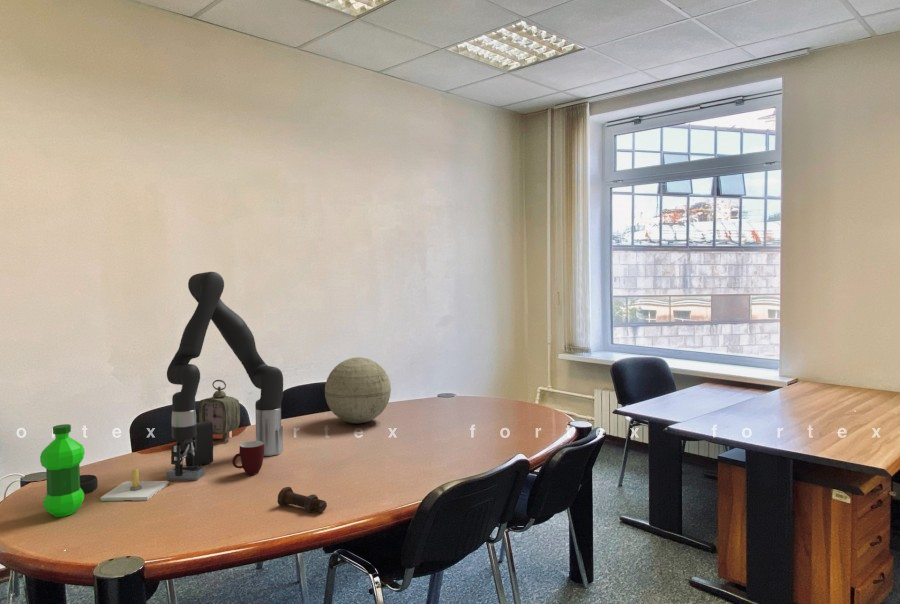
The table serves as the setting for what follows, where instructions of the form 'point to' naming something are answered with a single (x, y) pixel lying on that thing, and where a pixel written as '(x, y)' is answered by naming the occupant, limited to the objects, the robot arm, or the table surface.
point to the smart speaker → (88, 483)
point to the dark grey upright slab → (204, 443)
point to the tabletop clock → (220, 412)
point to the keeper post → (134, 489)
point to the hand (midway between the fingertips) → (184, 471)
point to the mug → (250, 456)
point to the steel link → (186, 473)
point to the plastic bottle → (62, 473)
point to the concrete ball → (357, 390)
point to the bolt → (301, 500)
